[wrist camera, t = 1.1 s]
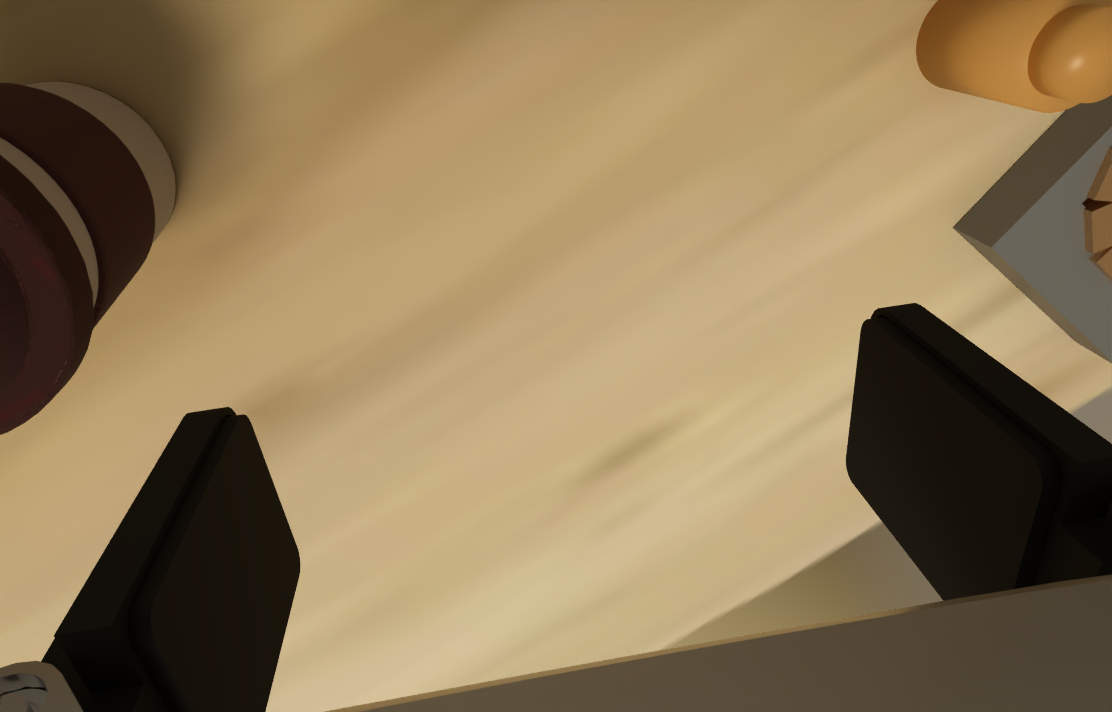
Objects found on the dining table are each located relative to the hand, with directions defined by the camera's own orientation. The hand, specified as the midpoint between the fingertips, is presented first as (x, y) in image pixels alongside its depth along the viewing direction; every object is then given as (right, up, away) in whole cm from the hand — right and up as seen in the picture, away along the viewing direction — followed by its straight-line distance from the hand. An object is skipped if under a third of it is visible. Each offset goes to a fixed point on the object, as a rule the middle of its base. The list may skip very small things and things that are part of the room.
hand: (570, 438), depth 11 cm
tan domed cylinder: (+18, +16, +22) cm, 32 cm away
